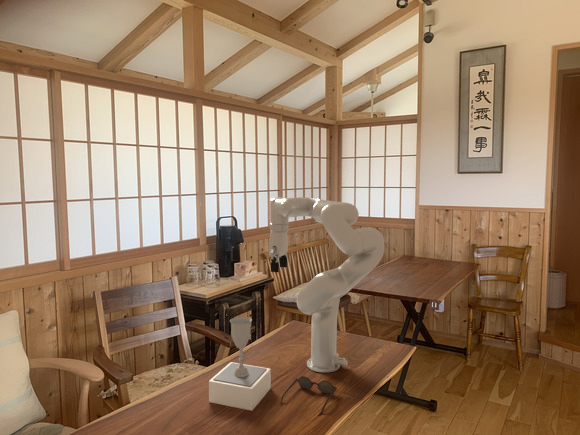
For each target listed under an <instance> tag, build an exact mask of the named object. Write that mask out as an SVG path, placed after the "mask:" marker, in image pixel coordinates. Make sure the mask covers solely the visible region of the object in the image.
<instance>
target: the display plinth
mask: <svg viewBox="0 0 580 435" xmlns="http://www.w3.org/2000/svg"><path fill="white" fill-rule="evenodd" d="M239 364H240V362H239V363H238V362H232V361H230V362H229V363H228V364H227V365H226V366H224V367H223V368H222V369H221V370H220V371H219V372H218V373H216V374H215V375H214V376H213V377H212V378H210V380H208V403H213V404H217V405H221V406H222V405H223V406H226V407H232V408H237V409H243V410H246V411H253V410H254V409H255V408H256V406H258V404H260V402H261V401H262V400H263V398H264V397H265V396H266V395H267V393H268V392H269V391H270V390H271V387H272V386H271V385H272V384H271V381H272V380H271V376H272V375H271V372H272V371H271V370H272V369H271V368H270V367H264V366H256V365H249V364H246V363H245V364H244V363H243V365H244V366H246V367H247V370H248V372H249V374H248V375H247V376H245V377H236V376H234V372H235V369H236V367H237V366H238V365H239Z"/></svg>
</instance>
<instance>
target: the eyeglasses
mask: <svg viewBox="0 0 580 435" xmlns="http://www.w3.org/2000/svg"><path fill="white" fill-rule="evenodd" d="M297 383H298V385H299V387H300V388H301V389H305V390H309V391H310V390H311V389H313V386H314V385H316V386H317V388H318V390H319V392H321V393H323V394H329V397H328V398H327V400H326V401H325V403H324V405H323V407H322V409H321V411H320V412H319V413H318V414H317V417H319V416H321V415H322V414H323V412H324V410H325V408H326V406H327V404H328V402H329V400H330V399H331V398H332V397H333V395H334V394H335V392H336V391H337V390H338V389H337V386H334V385H333V383H331V381H328V380H321V381H320V382H316V381H311V379H310V378H309V377H307V376H305V375H302V376H300V377H299V378H295V380H294V381H293V382H292V383H291V384H290V385H289V386H288V388H287V389H286V390H285V391H284V392H283V394H282V396H281V399H280V403H279V405H280V407H281V408H282V403H283V399H284V397H285V396H286V394H287V393H288V391H289V390H290V389H292V387H294V385H296V384H297Z"/></svg>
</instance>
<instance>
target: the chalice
mask: <svg viewBox="0 0 580 435" xmlns="http://www.w3.org/2000/svg"><path fill="white" fill-rule="evenodd" d="M252 321H253V319H252V317H247V316H236V317H235V316H234V317H232V318H231V319H229V322H230V327H231V328H230V329H231V331H230V336H231V339H232V342H233V343H234V345H235V347H236V349H239V352H238V356H239V357H238V362H239V365H238V366H237V367H236V369H235V372H234V376H236V377H245V376H247V375H248V374H249V372H248V370H247V367H246V366H244V365H243V364H244V363H243V361H244V359H245V358H244V357H243V356H244V351H243V349H244V348H246V346H247V345H248V342H249V339H250V336H251V324H252Z"/></svg>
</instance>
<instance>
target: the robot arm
mask: <svg viewBox="0 0 580 435" xmlns="http://www.w3.org/2000/svg"><path fill="white" fill-rule="evenodd" d="M269 200H270V202H269V232H270V233H269V245H268V255H269V259H270V262H269V263H270V272H271V273H279V271H280V270H279V269H280V268H288V252H289V251H288V250H289V242H288V240H289V239H288V232H289V222H290V221H289V219H290V218H297V217H298V218H299V217H311V218H313V219H314V221H315V222H316V223H319V224H322V225H323V228H324V229H325V231H326V232H327V233H328V235H329V236H330V238H331V239H332V240H333V242H334V244H335V245H336V246H337V247H338V248H339V250H340V251H341V252H342V253H344V254H345V255H347V256H350V257H348V258H347V259H346V260H345V261H344V262H343V263H342V264H341V265H339V266H338V267H336V268H333V269H329V270H324V271H322V272H319V273H318V274H316V275H315V276H314V277H313V278H312V279H310V281H308V283H307V284H305V286H303V287H302V288H301V289H300V291H299V292H298V294H297V296H296V305H297V306H296V307H297V309H298V310H299V311H300V312H301V313H303V314H305V315H311V322H310V323H311V325H310V326H311V328H310V329H311V331H310V332H311V335H310V337H311V338H310V342H311V344H310V358H309V359H308V360H307V361H306V366H307V368H308V369H310V370H311V371H312V372H318V373H324V374H325V373H332V372H336V371H338V370H339V369H340V368H341V366H345V367H347V366H348V360H346V358H345V357H340V356H339V353H338V352H337V342H338V341H337V337H338V336H337V335H338V334H337V331H338V328H337V327H338V326H337V325H338V312H339V305H340V302H341V296H343V295H346V294H347V293H348V292H350V291H351V290H352V289H353V288H354V287H355V286H356V285H357V284H358V283H360V282H361V281H363V279H364V278H365V277H366V276H367V275H368V274H369V273H371V272H372V271H373V270H374V269H375V268H376V266H378V265H379V263H380V262H381V260H382V258H383V256H384V253H385V240H384V239H385V238H384V236H383V234H382V233H381V231H379V230H378V229H376V228H374V227H360V228H359V227H358V228H352V225H354V224H356V222H357V221H358V219H359V210H358V208H357V207H356V206H355V205H354V204H352V203H350V202H343V201H334V200H328V199H327V200H325V199H320V198H314V197H313V198H312V197H279V196H278V197H272V198H270V199H269Z"/></svg>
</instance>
